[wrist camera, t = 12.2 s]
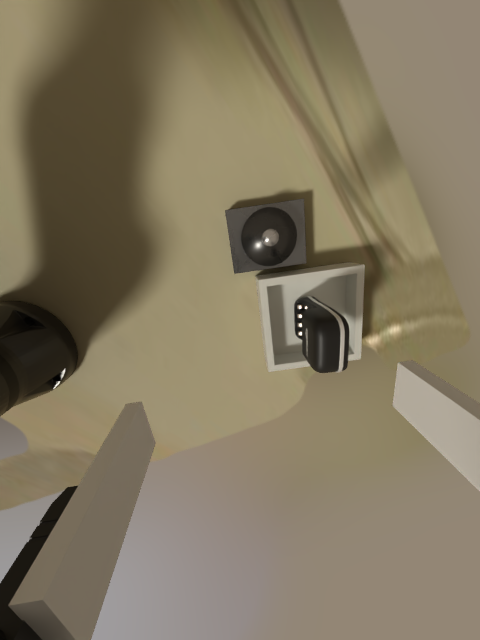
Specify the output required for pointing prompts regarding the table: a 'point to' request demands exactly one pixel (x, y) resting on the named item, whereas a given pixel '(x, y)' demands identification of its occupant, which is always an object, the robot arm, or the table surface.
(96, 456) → the robot arm
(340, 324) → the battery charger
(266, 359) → the tray
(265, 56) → the table surface
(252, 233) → the speaker
